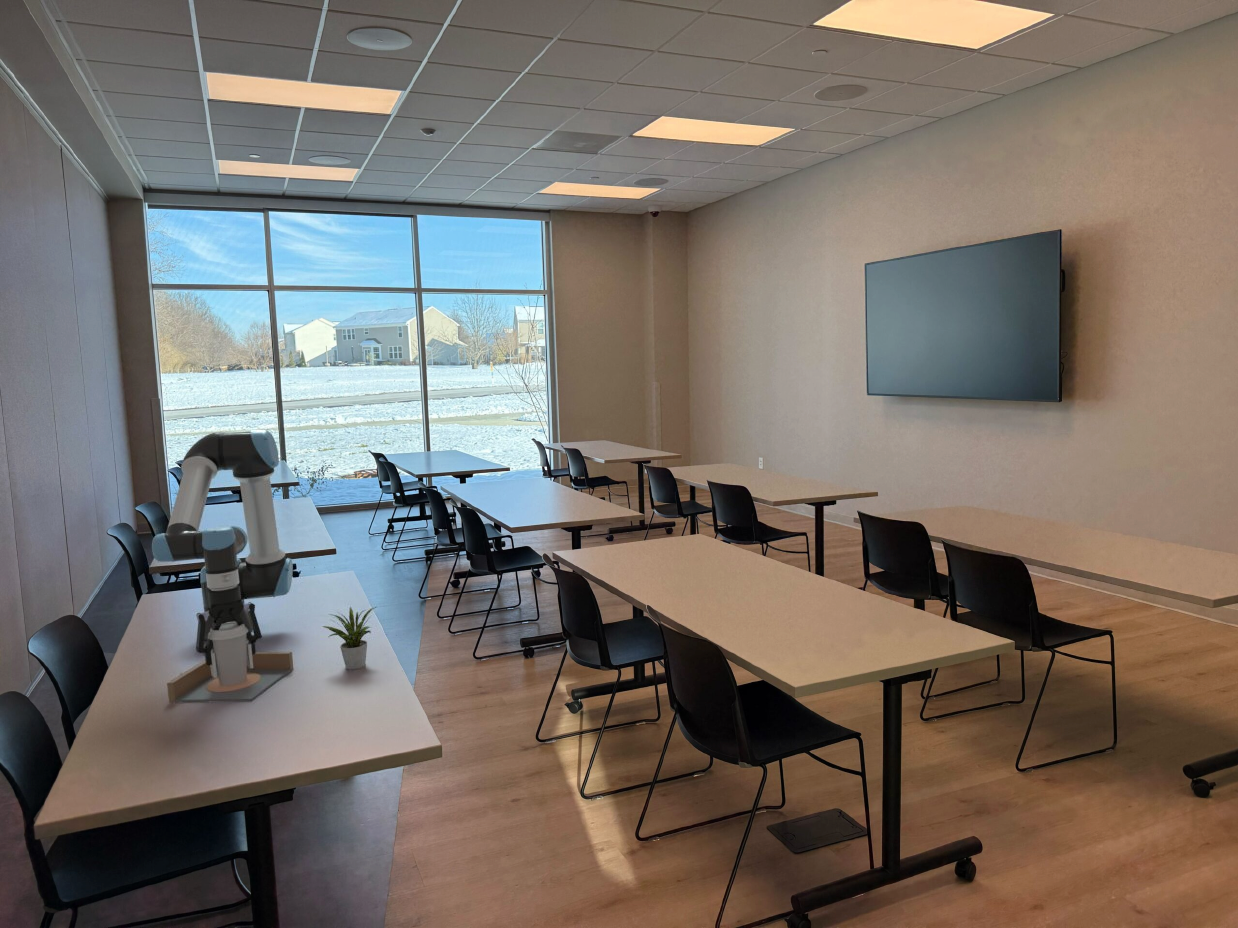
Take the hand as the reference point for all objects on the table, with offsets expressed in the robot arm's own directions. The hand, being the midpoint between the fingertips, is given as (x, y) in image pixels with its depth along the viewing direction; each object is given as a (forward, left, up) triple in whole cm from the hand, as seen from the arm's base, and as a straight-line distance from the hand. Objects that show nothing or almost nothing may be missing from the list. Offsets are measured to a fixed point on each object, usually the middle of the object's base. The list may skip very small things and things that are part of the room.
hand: (232, 671), depth 213 cm
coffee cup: (0, 0, -3) cm, 3 cm away
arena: (0, 0, -4) cm, 4 cm away
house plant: (-14, +28, -4) cm, 31 cm away
